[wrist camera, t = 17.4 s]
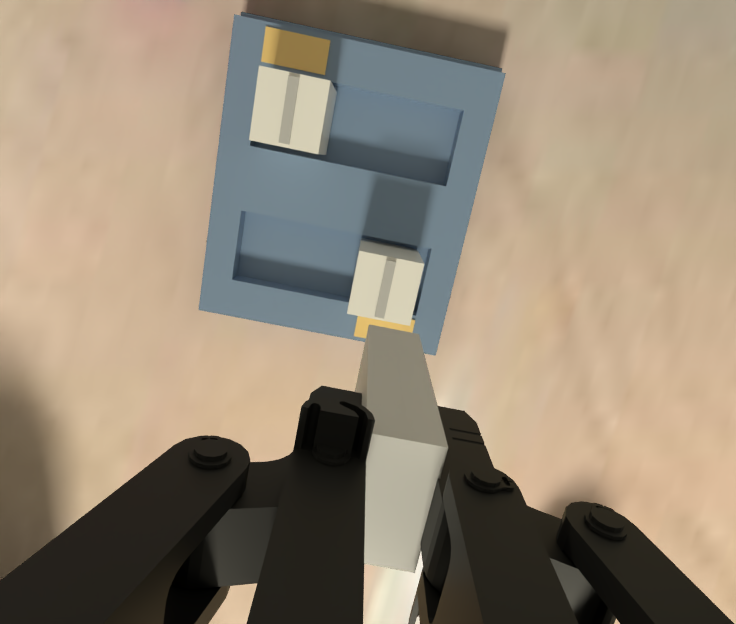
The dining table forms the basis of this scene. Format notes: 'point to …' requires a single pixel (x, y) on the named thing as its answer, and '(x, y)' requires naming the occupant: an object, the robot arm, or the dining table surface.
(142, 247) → the dining table surface
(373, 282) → the tab
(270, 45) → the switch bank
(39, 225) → the dining table surface
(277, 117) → the tab
